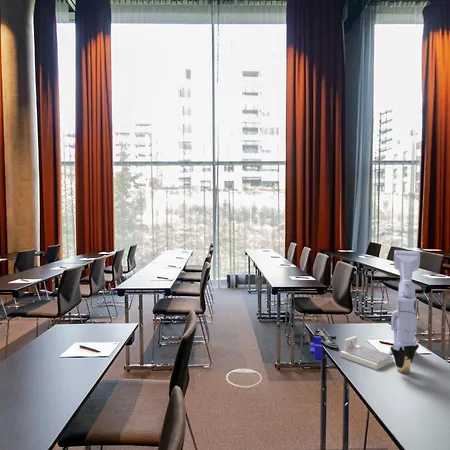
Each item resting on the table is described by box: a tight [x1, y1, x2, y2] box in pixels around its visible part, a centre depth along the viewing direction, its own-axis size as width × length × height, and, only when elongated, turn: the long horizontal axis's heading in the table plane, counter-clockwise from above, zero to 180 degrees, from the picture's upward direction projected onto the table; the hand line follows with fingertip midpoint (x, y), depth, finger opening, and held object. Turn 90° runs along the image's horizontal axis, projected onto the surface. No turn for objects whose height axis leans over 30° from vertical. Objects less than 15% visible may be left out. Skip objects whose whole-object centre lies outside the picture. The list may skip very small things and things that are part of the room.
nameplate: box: [313, 327, 340, 351], centre depth 176 cm, size 28×2×10 cm
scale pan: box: [349, 345, 393, 363], centre depth 152 cm, size 10×13×1 cm
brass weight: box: [396, 356, 412, 375], centre depth 142 cm, size 4×4×6 cm
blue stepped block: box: [309, 335, 323, 361], centre depth 157 cm, size 12×4×6 cm, turn 168°
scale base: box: [339, 335, 395, 370], centre depth 153 cm, size 13×16×6 cm
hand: (404, 364), depth 142 cm, fingers open, 7 cm apart
